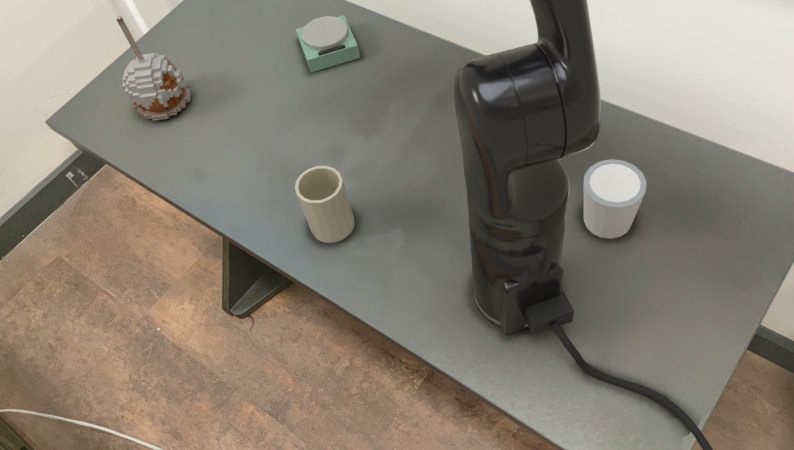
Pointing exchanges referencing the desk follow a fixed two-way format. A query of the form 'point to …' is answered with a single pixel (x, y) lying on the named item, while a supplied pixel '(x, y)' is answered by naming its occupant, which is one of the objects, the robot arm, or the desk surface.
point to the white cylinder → (612, 197)
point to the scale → (327, 42)
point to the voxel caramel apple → (153, 83)
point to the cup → (325, 203)
